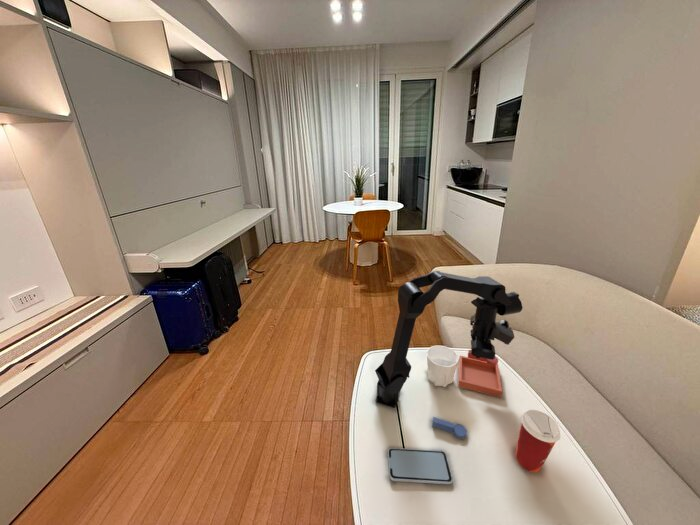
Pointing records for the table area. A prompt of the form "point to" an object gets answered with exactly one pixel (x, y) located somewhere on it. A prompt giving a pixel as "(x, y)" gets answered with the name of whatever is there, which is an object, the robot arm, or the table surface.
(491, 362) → the red spoon
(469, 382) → the terracotta tray
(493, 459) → the table surface
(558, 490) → the table surface
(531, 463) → the paper cup
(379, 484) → the table surface
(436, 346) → the cup
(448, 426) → the blue spoon
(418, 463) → the smartphone
